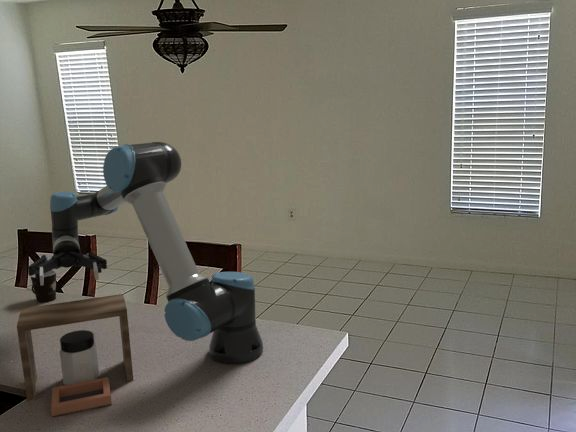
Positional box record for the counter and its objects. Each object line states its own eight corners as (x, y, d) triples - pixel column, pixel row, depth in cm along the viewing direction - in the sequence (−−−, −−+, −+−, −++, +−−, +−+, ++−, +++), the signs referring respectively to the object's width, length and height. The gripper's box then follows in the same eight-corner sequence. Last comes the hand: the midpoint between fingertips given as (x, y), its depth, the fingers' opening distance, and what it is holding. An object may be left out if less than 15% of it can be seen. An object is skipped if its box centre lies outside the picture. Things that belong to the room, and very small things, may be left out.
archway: (30, 378, 143) (21, 308, 139) (129, 360, 152) (122, 293, 148) (27, 401, 132) (16, 326, 128) (133, 380, 141) (126, 309, 137)
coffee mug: (49, 294, 206) (46, 268, 204) (64, 297, 202) (61, 271, 200) (21, 304, 197) (17, 277, 194) (35, 308, 192) (32, 281, 190)
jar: (67, 391, 136) (61, 346, 134) (60, 378, 143) (55, 335, 140) (103, 380, 141) (98, 337, 139) (95, 368, 148) (90, 327, 145)
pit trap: (53, 396, 134) (52, 387, 133) (109, 385, 138) (108, 376, 138) (52, 417, 125) (51, 407, 125) (111, 404, 130) (110, 395, 129)
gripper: (110, 259, 169) (119, 285, 150) (21, 267, 159) (18, 296, 141) (109, 236, 167) (118, 260, 148) (19, 243, 157) (16, 269, 139)
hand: (69, 277), depth 144 cm, fingers open, 13 cm apart
